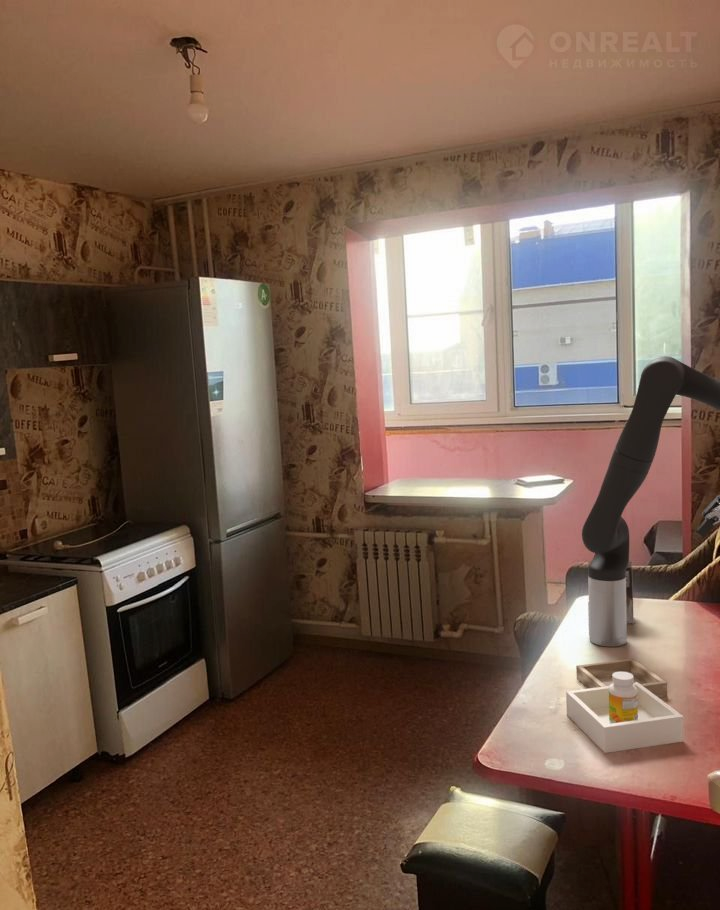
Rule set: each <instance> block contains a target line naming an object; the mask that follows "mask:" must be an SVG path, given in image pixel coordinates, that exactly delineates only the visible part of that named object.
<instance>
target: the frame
mask: <svg viewBox="0 0 720 910" xmlns="http://www.w3.org/2000/svg"><path fill="white" fill-rule="evenodd" d="M575 668H576V680H578V681H579V682H580V681H581V682H580V683H582V684H583V685H584V686H585V687H586V689H589V688H597V687H604V686H606V685H605V684H604V683H603V682H601V680H599V679H598V678H603V677H612V674H613V673H615V672H628V673H630V674H632V675H633V676H635V678H637V679H638V680H640V681H641V682H642V683H640V684H641V685H642V686H643V687H645V688H646V689H647V690H649V691H650V692H651V693H653V694H654V695H655V696H657V697H658V698H663V697H668V682H667V681H665V680H664V679H663V678H661V677H659V676H658V675H657V674H655V673H654V672H653V671H651V670H650V669H648V668H646V667H645V666H644V665H642V664H641V663H640V662H638V661H636V660H635V659H634V658H627V659H620V660H619V659H618V660H611V661H610V660H609V661H603V662H602V661H601V662H595V663H586V664H579V665H576V666H575Z"/></svg>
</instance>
